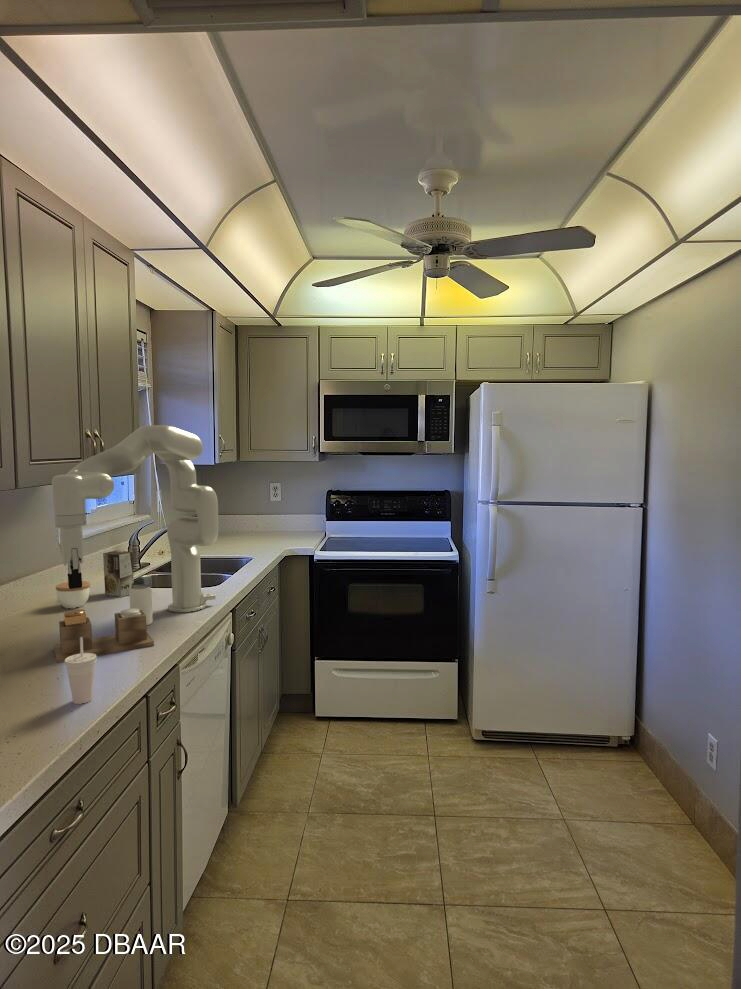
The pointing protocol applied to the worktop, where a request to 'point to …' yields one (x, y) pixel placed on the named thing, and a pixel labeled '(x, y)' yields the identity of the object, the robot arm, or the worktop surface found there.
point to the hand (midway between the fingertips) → (75, 587)
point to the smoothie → (81, 675)
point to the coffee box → (118, 573)
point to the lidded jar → (73, 595)
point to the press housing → (126, 637)
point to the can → (142, 600)
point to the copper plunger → (74, 617)
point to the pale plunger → (129, 613)
